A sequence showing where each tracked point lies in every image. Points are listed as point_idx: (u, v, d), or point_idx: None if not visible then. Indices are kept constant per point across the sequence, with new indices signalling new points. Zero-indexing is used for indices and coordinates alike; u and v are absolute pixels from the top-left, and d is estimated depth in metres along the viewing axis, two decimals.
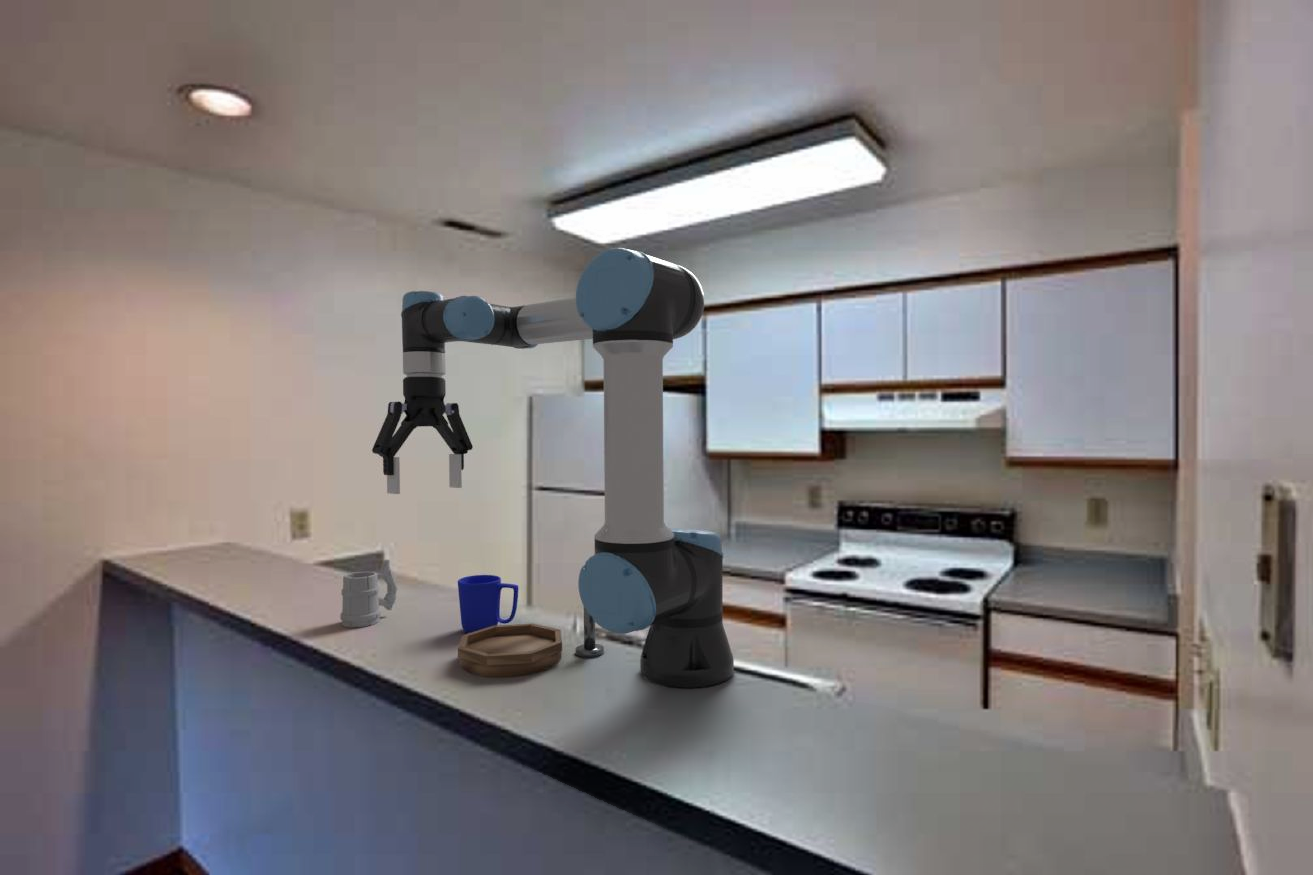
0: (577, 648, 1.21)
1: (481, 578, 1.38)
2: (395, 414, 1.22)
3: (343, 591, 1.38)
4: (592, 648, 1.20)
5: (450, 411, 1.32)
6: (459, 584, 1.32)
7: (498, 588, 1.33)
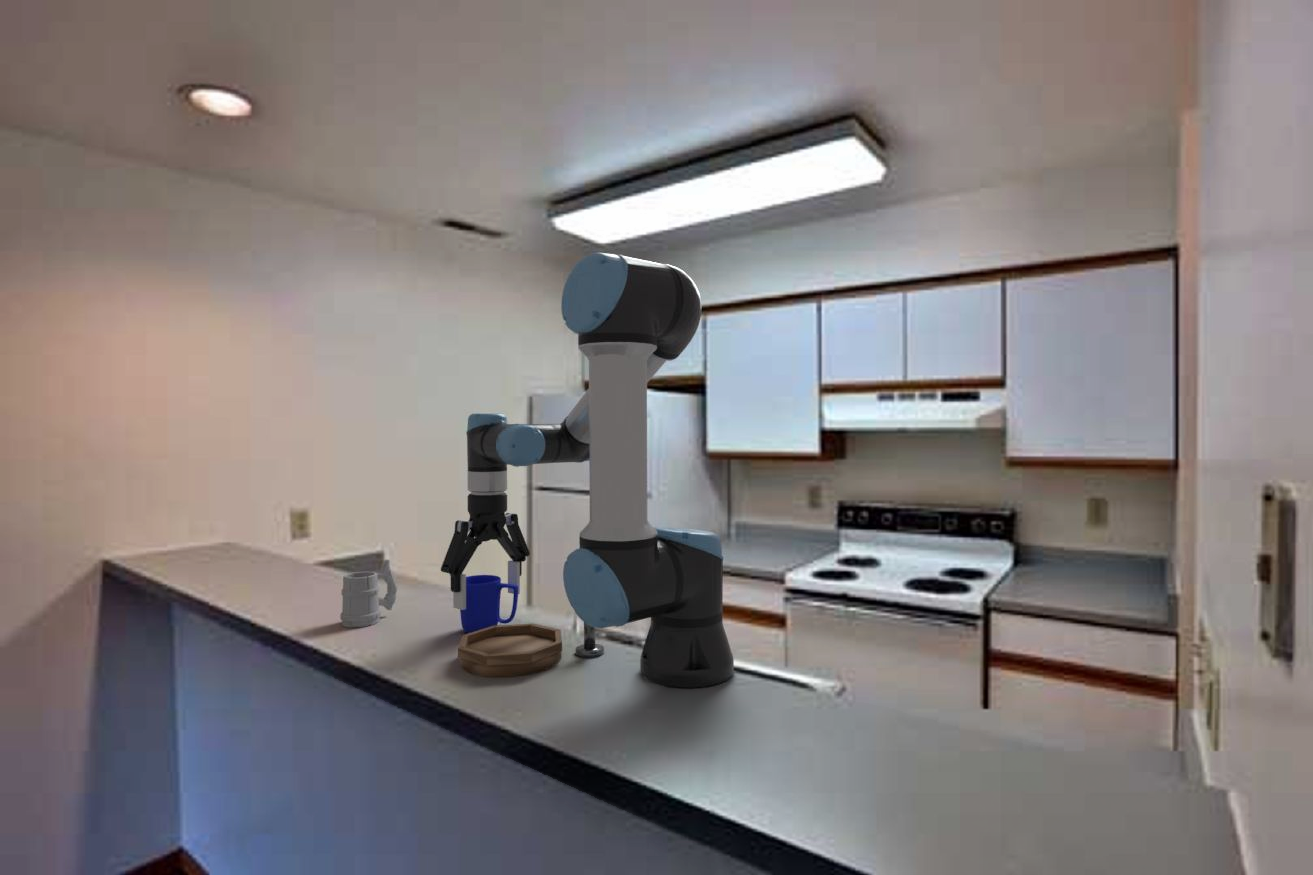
0: (577, 648, 1.21)
1: (481, 578, 1.38)
2: (462, 534, 1.28)
3: (343, 591, 1.38)
4: (592, 648, 1.20)
5: (510, 522, 1.38)
6: None
7: (498, 588, 1.33)
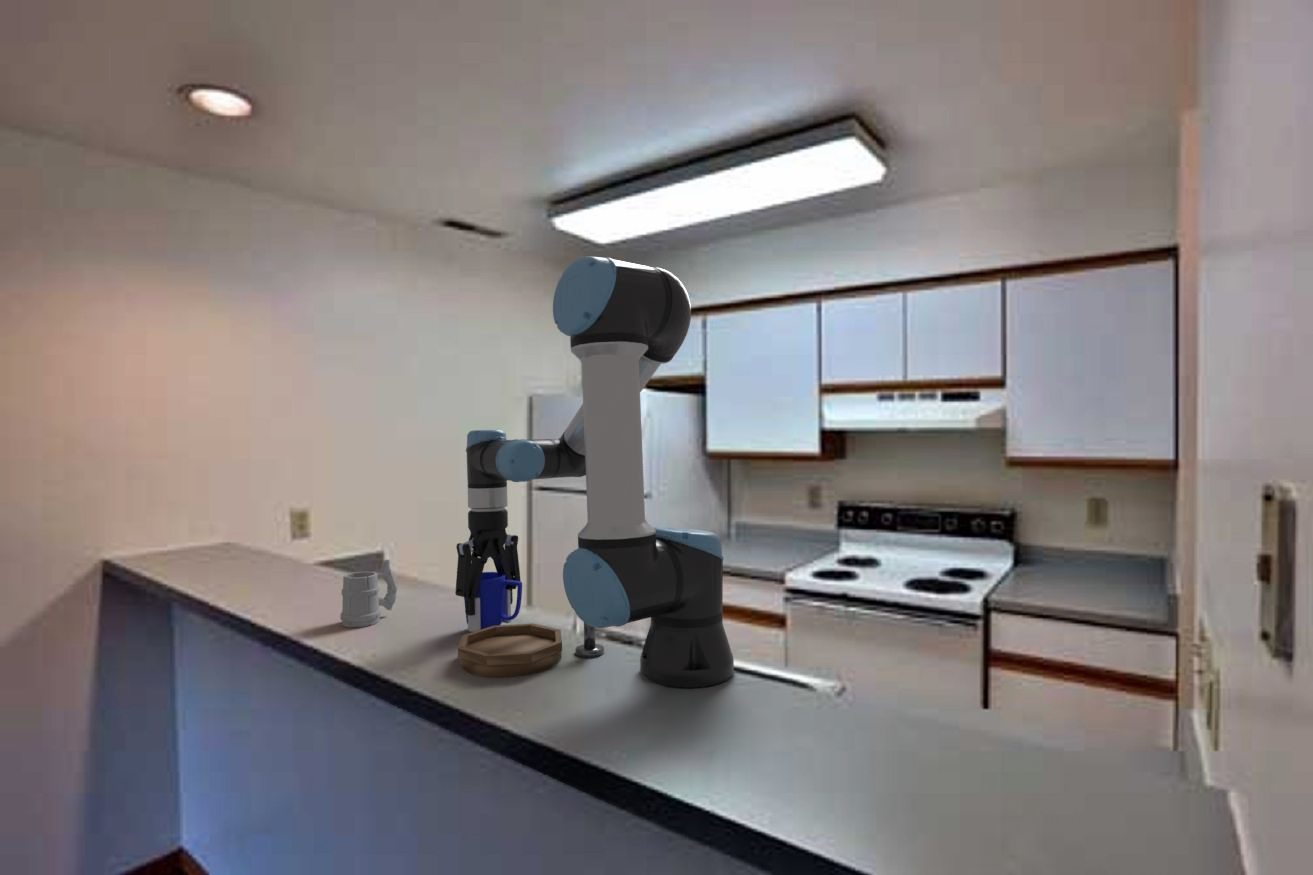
0: (577, 648, 1.21)
1: (486, 575, 1.39)
2: (466, 557, 1.29)
3: (343, 591, 1.38)
4: (592, 648, 1.20)
5: (509, 542, 1.38)
6: None
7: (502, 585, 1.34)
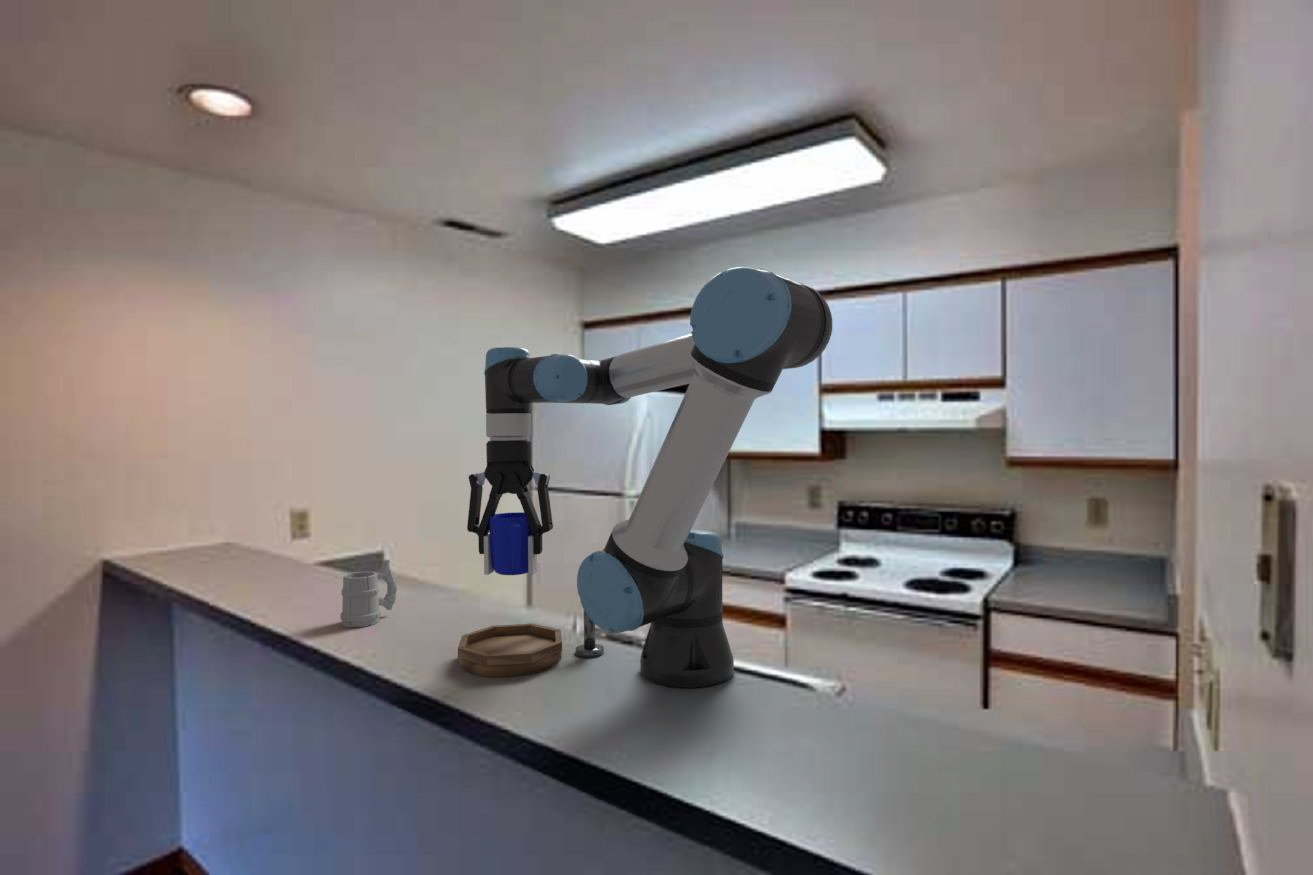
0: (577, 648, 1.21)
1: None
2: (471, 488, 1.17)
3: (343, 591, 1.38)
4: (592, 648, 1.20)
5: (536, 481, 1.17)
6: None
7: (510, 527, 1.15)
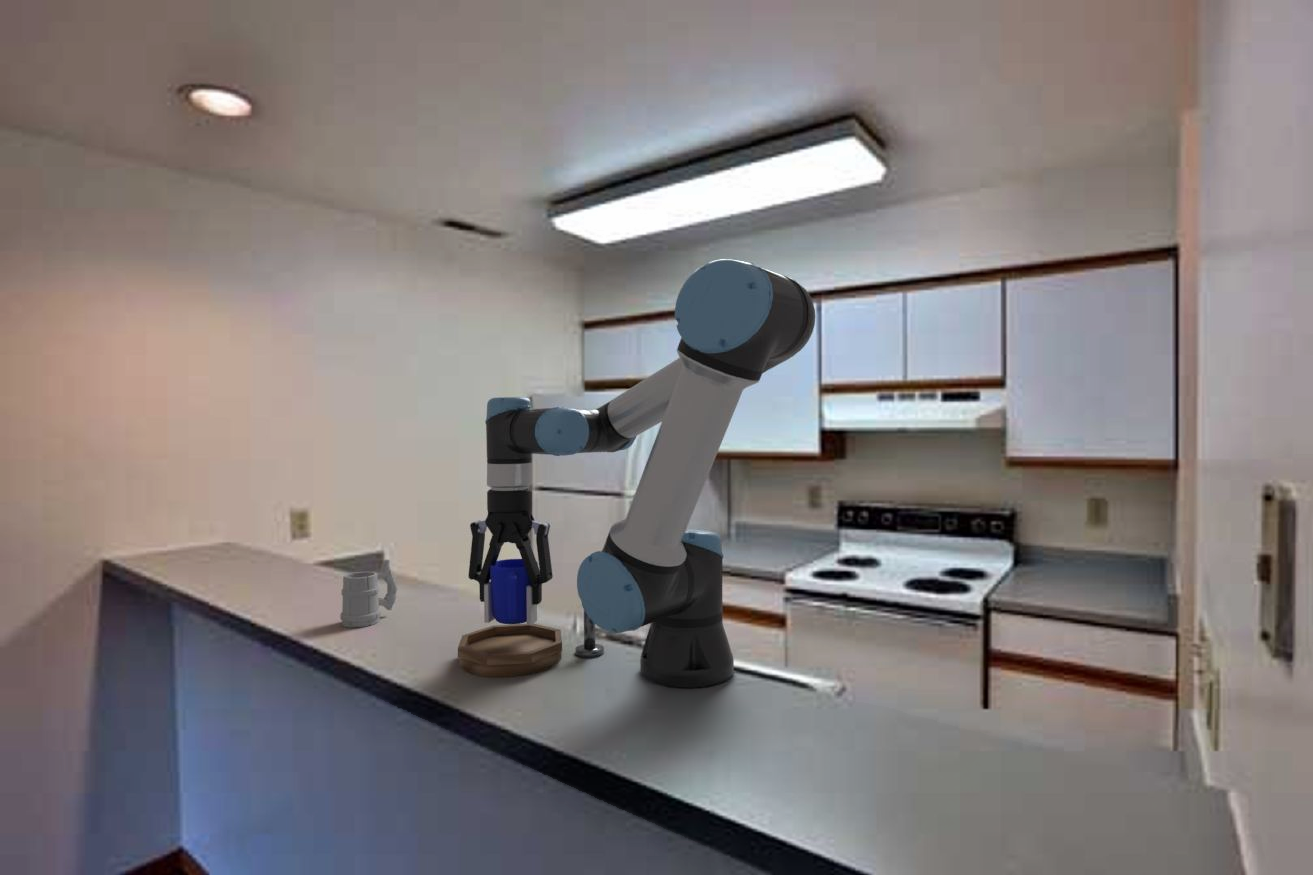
0: (577, 648, 1.21)
1: None
2: (473, 536, 1.18)
3: (343, 591, 1.38)
4: (592, 648, 1.20)
5: None
6: None
7: None
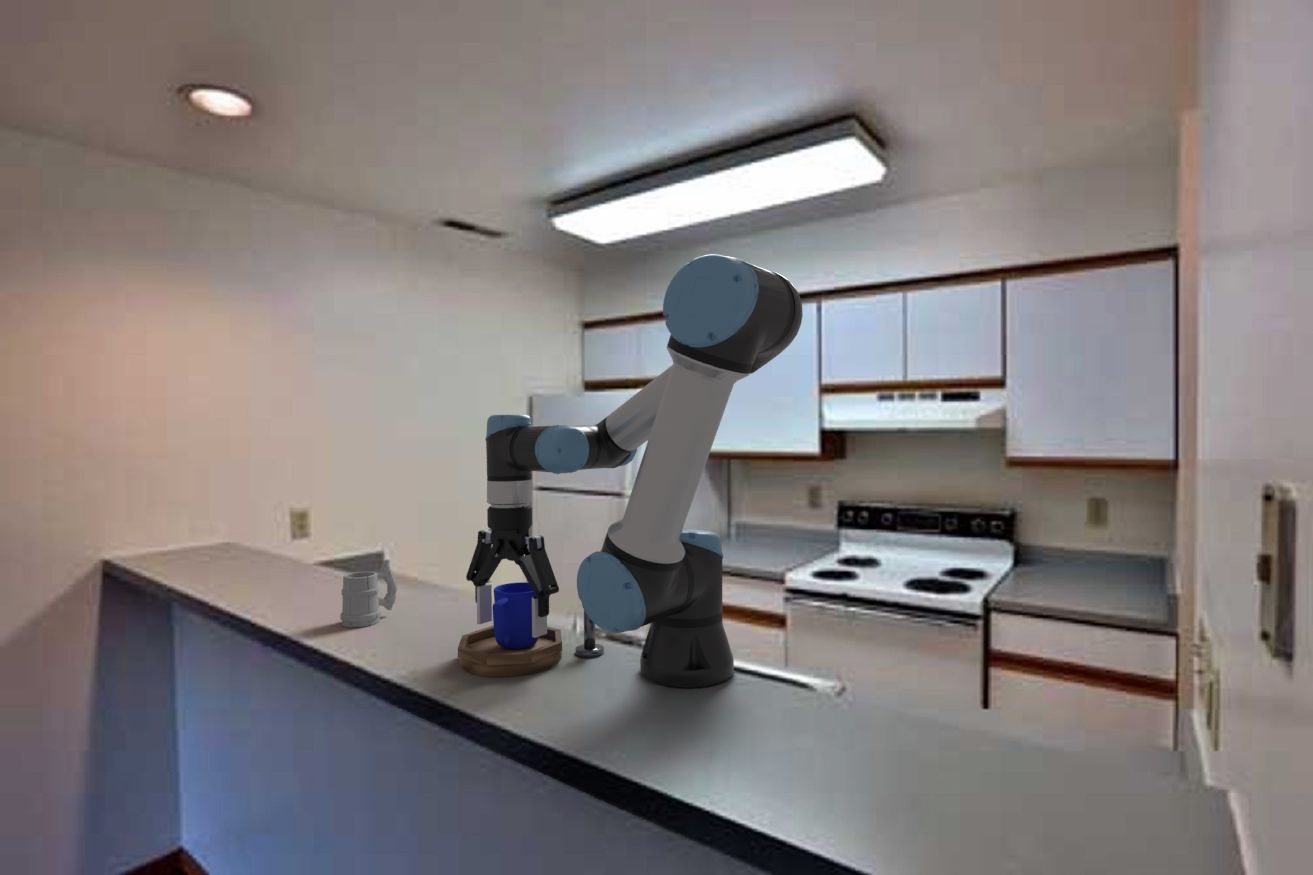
0: (577, 648, 1.21)
1: None
2: (477, 543, 1.21)
3: (343, 591, 1.38)
4: (592, 648, 1.20)
5: None
6: None
7: None
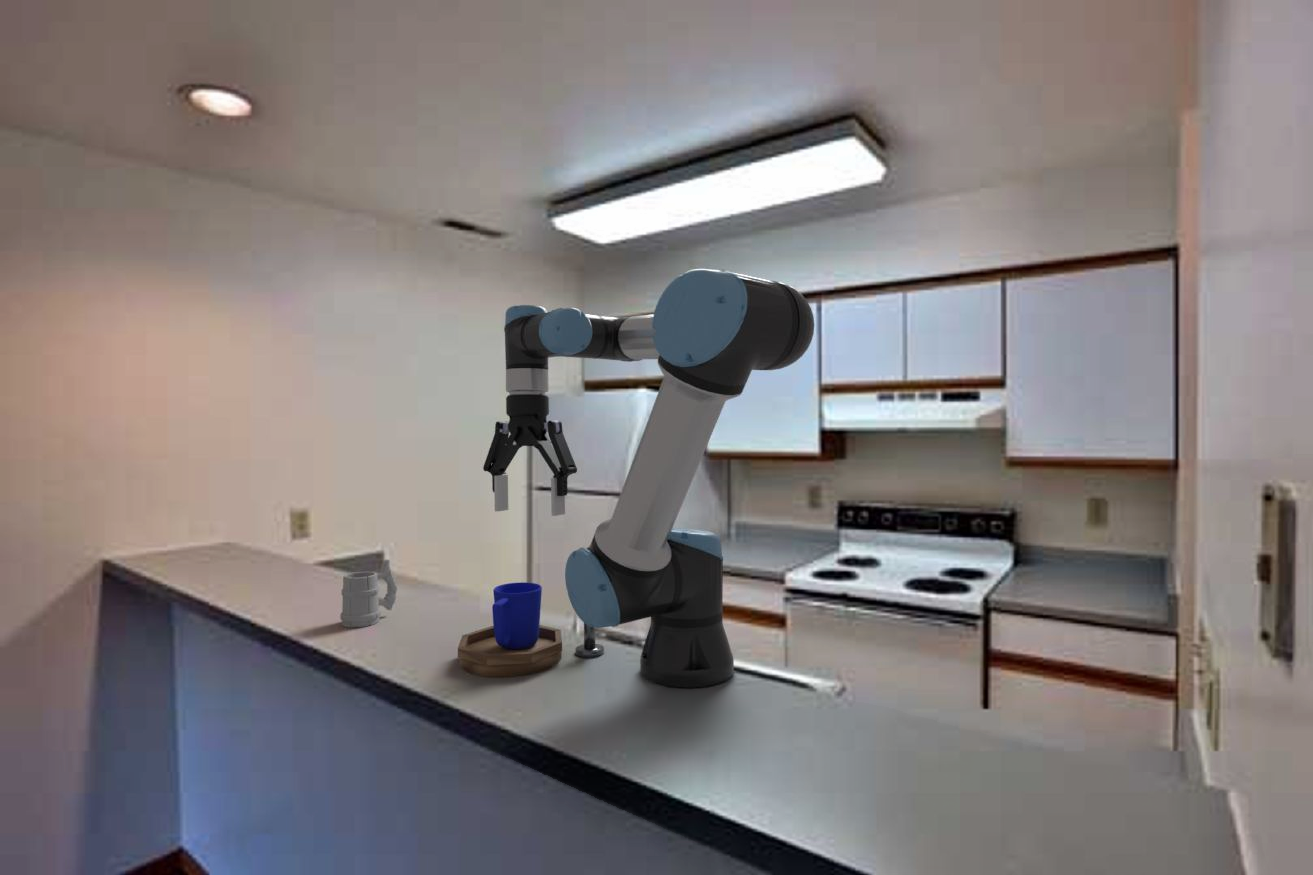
0: (577, 648, 1.21)
1: None
2: (495, 434, 1.26)
3: (343, 591, 1.38)
4: (592, 648, 1.20)
5: None
6: None
7: None
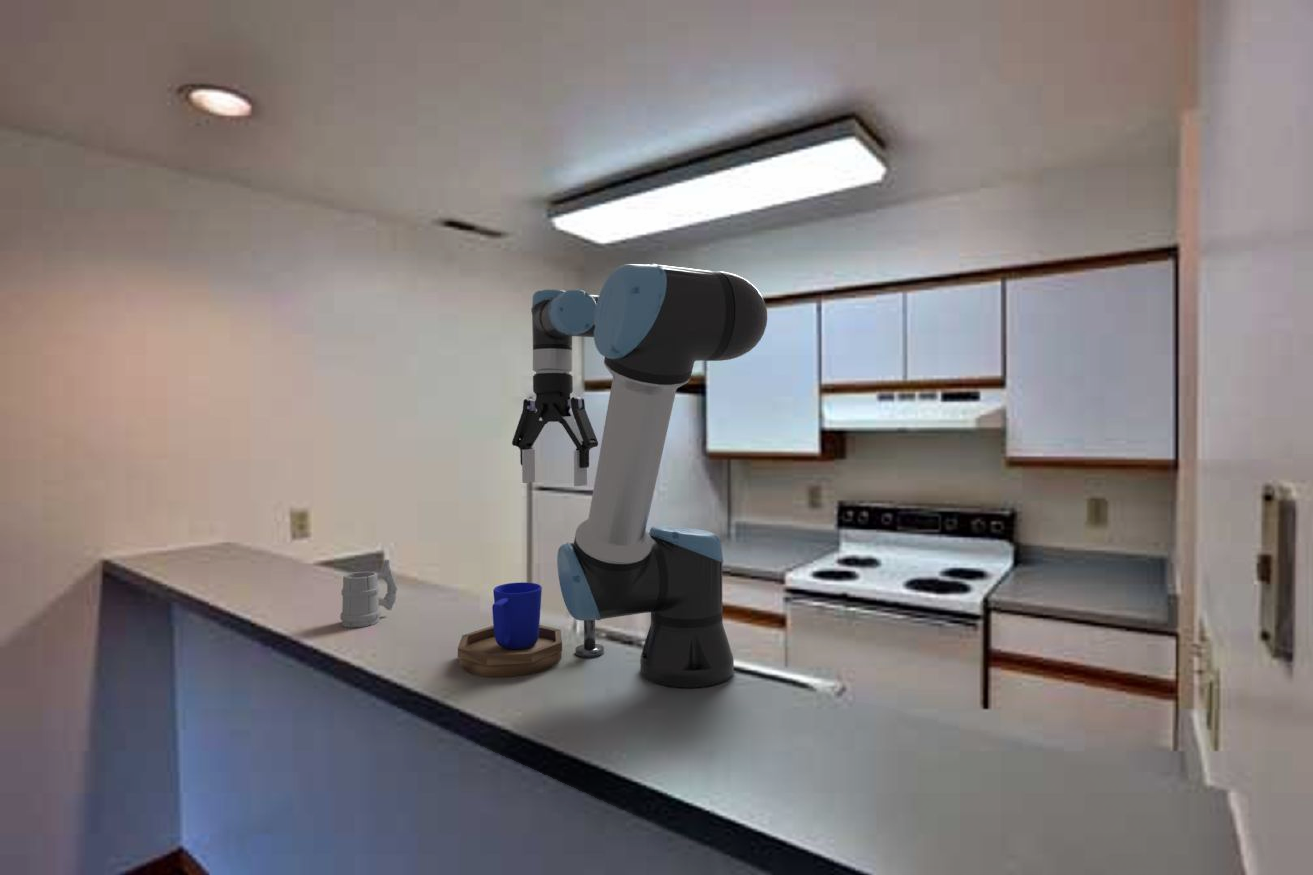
0: (577, 648, 1.21)
1: None
2: (523, 410, 1.35)
3: (343, 591, 1.38)
4: (592, 648, 1.20)
5: None
6: None
7: None
